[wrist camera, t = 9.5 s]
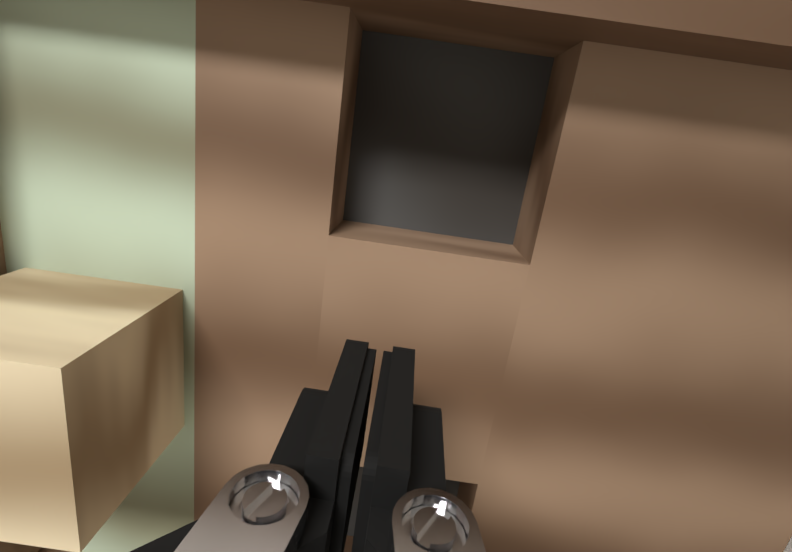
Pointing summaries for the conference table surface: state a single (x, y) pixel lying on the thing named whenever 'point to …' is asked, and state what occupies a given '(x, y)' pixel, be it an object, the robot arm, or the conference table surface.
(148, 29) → the box
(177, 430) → the maple block
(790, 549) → the conference table surface
